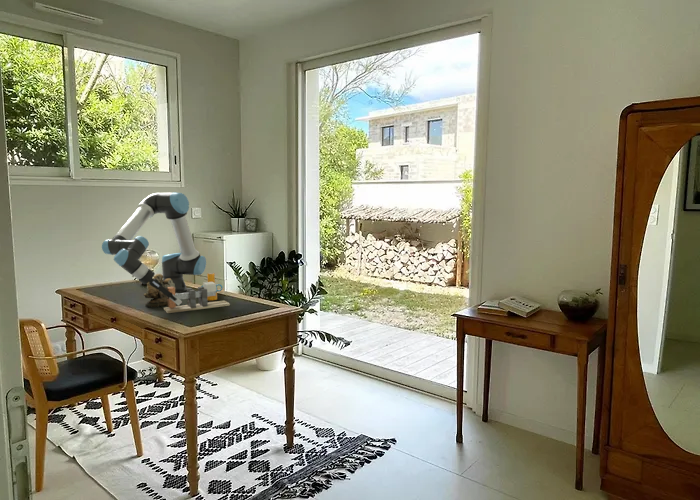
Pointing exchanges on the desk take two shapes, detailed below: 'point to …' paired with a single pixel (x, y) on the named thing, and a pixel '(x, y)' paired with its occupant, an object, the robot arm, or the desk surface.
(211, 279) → the sippy cup
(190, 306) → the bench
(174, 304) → the shaft
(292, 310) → the desk surface
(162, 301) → the brown rough lump
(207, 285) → the block
